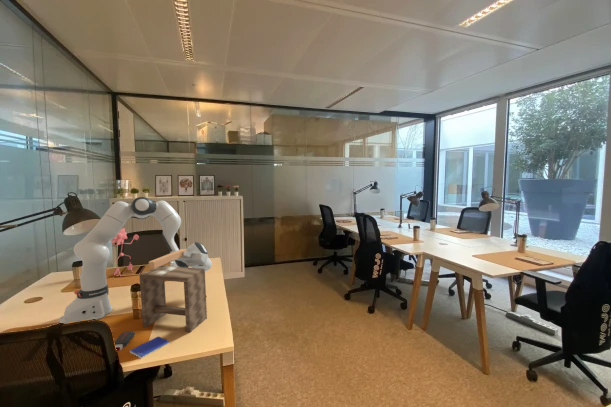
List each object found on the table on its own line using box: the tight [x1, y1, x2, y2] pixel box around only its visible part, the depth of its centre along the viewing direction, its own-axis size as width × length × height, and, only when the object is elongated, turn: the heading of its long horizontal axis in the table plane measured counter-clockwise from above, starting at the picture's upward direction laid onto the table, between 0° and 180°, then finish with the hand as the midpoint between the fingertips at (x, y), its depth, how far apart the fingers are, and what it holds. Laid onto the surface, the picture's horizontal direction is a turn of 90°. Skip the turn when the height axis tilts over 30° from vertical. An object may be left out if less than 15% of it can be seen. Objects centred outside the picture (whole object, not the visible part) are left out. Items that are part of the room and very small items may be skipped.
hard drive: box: [129, 336, 170, 359], centre depth 125 cm, size 2×8×12 cm
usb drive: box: [114, 331, 136, 352], centre depth 129 cm, size 5×12×3 cm, turn 9°
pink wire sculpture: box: [110, 227, 140, 277], centre depth 221 cm, size 15×26×35 cm, turn 152°
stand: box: [139, 264, 208, 333], centre depth 145 cm, size 14×26×26 cm, turn 77°
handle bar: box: [148, 248, 187, 269], centre depth 148 cm, size 24×3×3 cm, turn 167°
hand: (179, 252), depth 156 cm, fingers closed on handle bar, 3 cm apart
